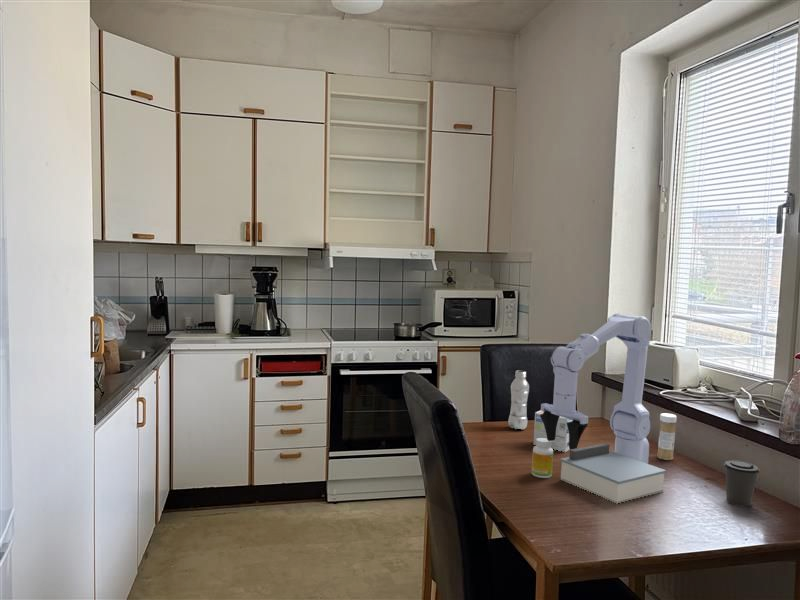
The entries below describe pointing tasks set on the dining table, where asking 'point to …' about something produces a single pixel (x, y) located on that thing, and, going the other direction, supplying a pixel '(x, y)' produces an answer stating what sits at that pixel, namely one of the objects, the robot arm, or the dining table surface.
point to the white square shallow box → (612, 484)
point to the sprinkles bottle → (666, 436)
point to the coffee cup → (740, 481)
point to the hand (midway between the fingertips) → (561, 444)
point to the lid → (610, 464)
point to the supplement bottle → (542, 458)
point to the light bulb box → (561, 432)
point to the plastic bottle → (519, 401)
